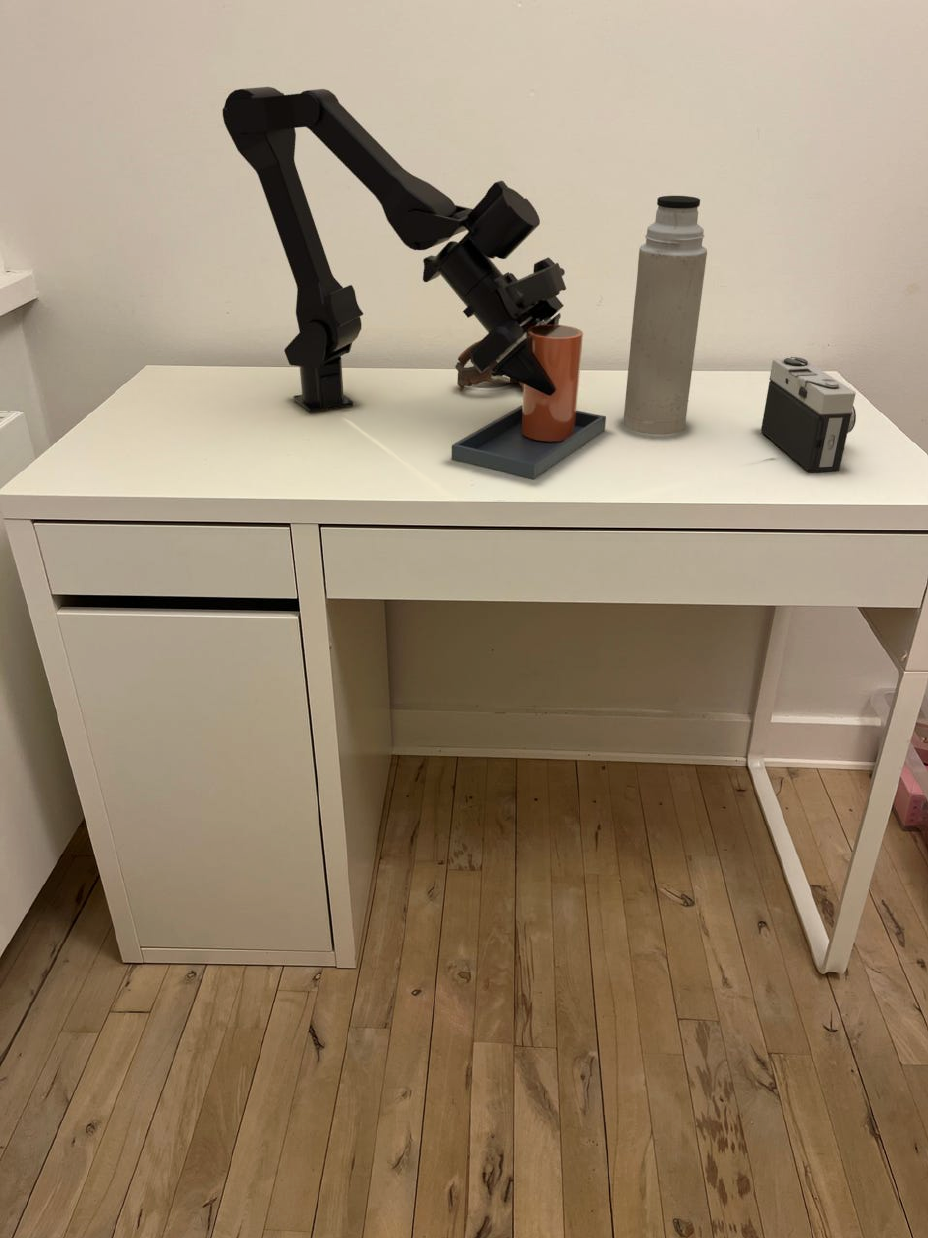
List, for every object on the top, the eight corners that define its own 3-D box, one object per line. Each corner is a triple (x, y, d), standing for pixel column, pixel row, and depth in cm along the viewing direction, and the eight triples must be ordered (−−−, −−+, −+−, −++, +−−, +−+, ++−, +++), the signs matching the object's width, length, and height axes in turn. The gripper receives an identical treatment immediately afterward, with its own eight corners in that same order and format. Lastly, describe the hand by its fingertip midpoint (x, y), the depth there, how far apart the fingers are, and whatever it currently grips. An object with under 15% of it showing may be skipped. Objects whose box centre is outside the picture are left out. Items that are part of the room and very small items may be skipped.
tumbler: (511, 428, 126) (516, 327, 119) (555, 421, 129) (562, 322, 122) (539, 445, 121) (546, 340, 114) (585, 437, 124) (594, 334, 117)
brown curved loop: (531, 404, 137) (505, 357, 132) (472, 428, 141) (444, 383, 136) (533, 358, 146) (509, 312, 141) (477, 382, 149) (451, 338, 144)
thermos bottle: (632, 413, 133) (654, 190, 118) (691, 422, 130) (720, 194, 115) (615, 432, 127) (636, 198, 112) (675, 441, 124) (705, 203, 109)
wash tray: (528, 417, 131) (529, 400, 130) (604, 433, 126) (606, 416, 125) (451, 463, 117) (451, 445, 116) (533, 483, 112) (534, 464, 111)
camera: (871, 469, 116) (890, 387, 111) (806, 473, 115) (822, 390, 110) (817, 428, 128) (832, 352, 123) (757, 431, 127) (770, 355, 122)
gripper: (496, 253, 107) (587, 364, 109) (551, 225, 121) (630, 324, 123) (432, 319, 113) (519, 423, 115) (491, 286, 128) (567, 378, 130)
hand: (562, 384), depth 121 cm, fingers closed on tumbler, 7 cm apart
